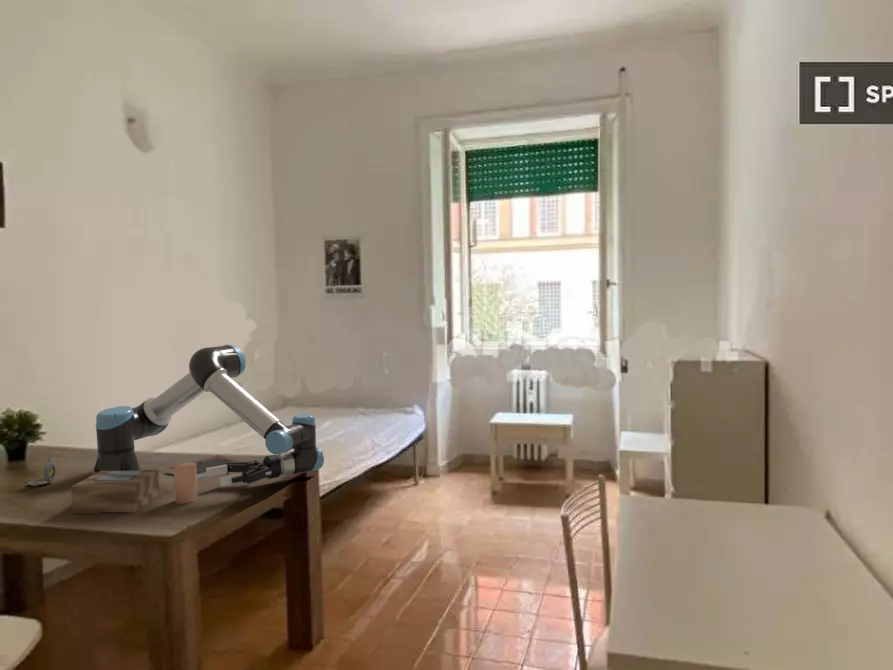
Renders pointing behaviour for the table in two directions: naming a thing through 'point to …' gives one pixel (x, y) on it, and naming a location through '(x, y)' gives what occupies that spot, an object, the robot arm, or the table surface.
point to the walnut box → (115, 491)
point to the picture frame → (208, 464)
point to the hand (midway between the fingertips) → (213, 477)
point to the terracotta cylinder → (185, 483)
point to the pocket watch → (47, 473)
